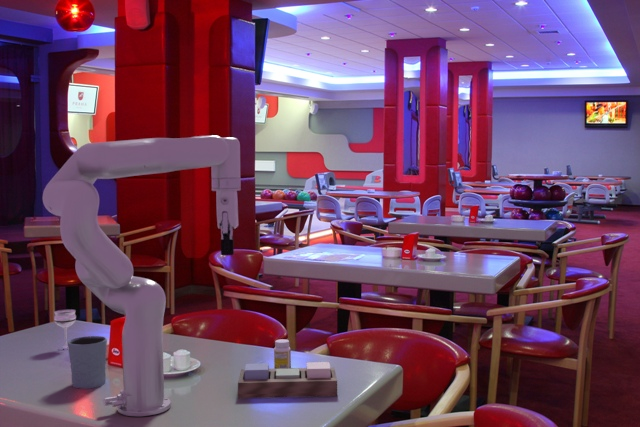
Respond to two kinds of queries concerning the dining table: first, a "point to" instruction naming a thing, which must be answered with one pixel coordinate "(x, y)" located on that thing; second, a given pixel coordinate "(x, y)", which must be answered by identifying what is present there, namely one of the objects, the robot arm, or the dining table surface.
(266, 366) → the slate key
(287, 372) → the sage key
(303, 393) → the console
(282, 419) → the dining table surface
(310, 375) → the cream key
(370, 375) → the dining table surface
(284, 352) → the supplement bottle
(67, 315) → the wineglass
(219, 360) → the dining table surface
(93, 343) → the grey blue cup
